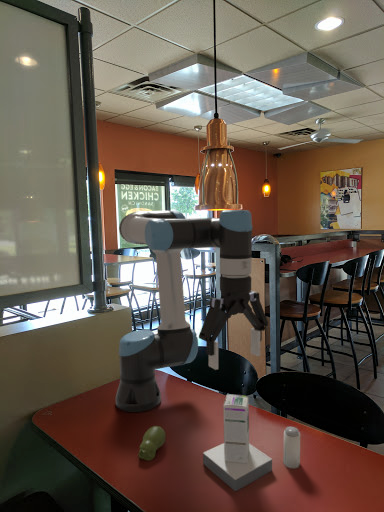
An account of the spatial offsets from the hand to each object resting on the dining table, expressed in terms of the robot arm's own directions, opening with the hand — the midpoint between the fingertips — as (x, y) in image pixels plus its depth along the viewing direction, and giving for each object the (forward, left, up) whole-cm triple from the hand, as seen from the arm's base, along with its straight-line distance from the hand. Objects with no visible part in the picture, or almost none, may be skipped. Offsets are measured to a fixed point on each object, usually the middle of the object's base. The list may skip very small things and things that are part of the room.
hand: (235, 360), depth 92 cm
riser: (+1, -1, -27) cm, 27 cm away
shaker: (+8, +11, -27) cm, 30 cm away
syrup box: (+1, -1, -24) cm, 24 cm away
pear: (-17, -14, -27) cm, 35 cm away
